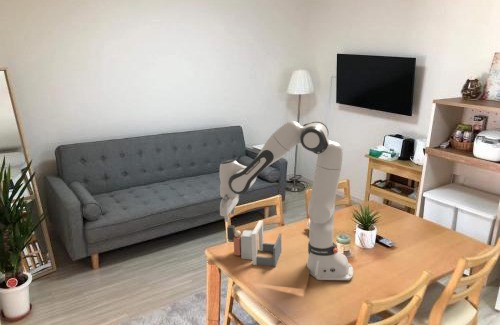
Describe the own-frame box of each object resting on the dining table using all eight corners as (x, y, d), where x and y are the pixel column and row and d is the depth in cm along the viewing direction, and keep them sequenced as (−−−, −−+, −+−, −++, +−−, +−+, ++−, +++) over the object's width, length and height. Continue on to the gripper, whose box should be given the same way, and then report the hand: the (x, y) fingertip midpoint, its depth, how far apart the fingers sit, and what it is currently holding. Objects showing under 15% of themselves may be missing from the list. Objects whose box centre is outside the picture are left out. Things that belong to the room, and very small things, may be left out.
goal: (281, 251, 201) (281, 222, 197) (275, 267, 186) (275, 235, 182) (260, 249, 204) (259, 220, 200) (252, 264, 189) (251, 233, 185)
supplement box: (255, 260, 193) (254, 237, 190) (241, 259, 195) (240, 236, 191) (258, 252, 200) (257, 230, 197) (244, 251, 202) (243, 229, 198)
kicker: (242, 250, 201) (241, 225, 197) (240, 255, 196) (239, 229, 192) (230, 249, 202) (229, 224, 198) (227, 254, 198) (226, 228, 194)
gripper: (228, 199, 180) (229, 226, 184) (240, 185, 199) (241, 210, 203) (216, 198, 182) (217, 225, 186) (229, 184, 201) (230, 209, 205)
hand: (230, 217), depth 194 cm, fingers open, 8 cm apart
